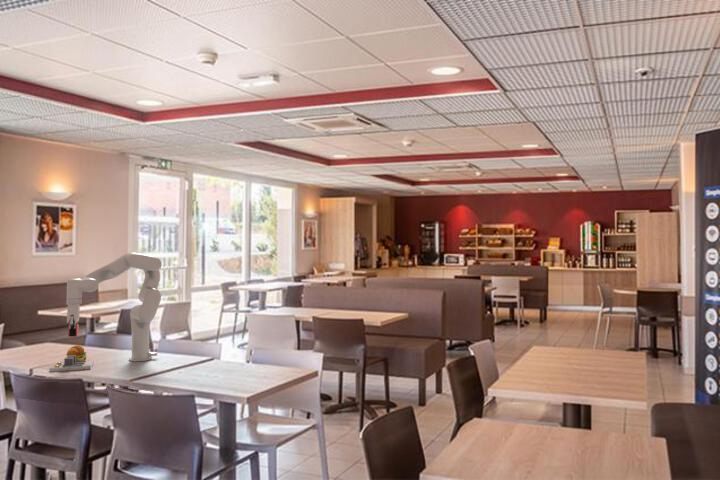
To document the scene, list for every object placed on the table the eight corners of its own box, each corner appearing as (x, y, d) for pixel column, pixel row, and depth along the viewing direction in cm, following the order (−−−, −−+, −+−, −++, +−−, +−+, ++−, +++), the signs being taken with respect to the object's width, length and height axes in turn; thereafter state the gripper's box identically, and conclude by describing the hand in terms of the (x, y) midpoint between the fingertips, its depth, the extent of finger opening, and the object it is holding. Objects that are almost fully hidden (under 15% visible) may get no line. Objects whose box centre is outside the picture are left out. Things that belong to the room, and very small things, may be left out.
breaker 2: (76, 362, 337) (76, 355, 337) (75, 363, 333) (74, 356, 333) (68, 362, 335) (68, 355, 335) (67, 364, 332) (66, 356, 332)
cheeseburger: (91, 358, 356) (89, 343, 354) (81, 367, 346) (79, 351, 343) (74, 358, 357) (72, 342, 355) (64, 366, 347) (62, 350, 344)
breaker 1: (73, 364, 331) (73, 357, 331) (72, 365, 327) (72, 358, 327) (65, 365, 330) (65, 357, 330) (64, 366, 326) (64, 358, 326)
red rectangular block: (78, 335, 333) (78, 324, 333) (77, 336, 329) (77, 325, 329) (69, 335, 332) (69, 324, 332) (68, 336, 327) (68, 325, 327)
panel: (93, 364, 340) (93, 359, 340) (90, 369, 329) (90, 363, 329) (54, 367, 335) (54, 361, 335) (49, 371, 323) (49, 366, 323)
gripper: (69, 300, 337) (68, 333, 337) (63, 303, 321) (62, 337, 321) (84, 300, 339) (83, 333, 339) (79, 303, 323) (78, 337, 323)
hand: (73, 335), depth 330 cm, fingers closed on red rectangular block, 4 cm apart
